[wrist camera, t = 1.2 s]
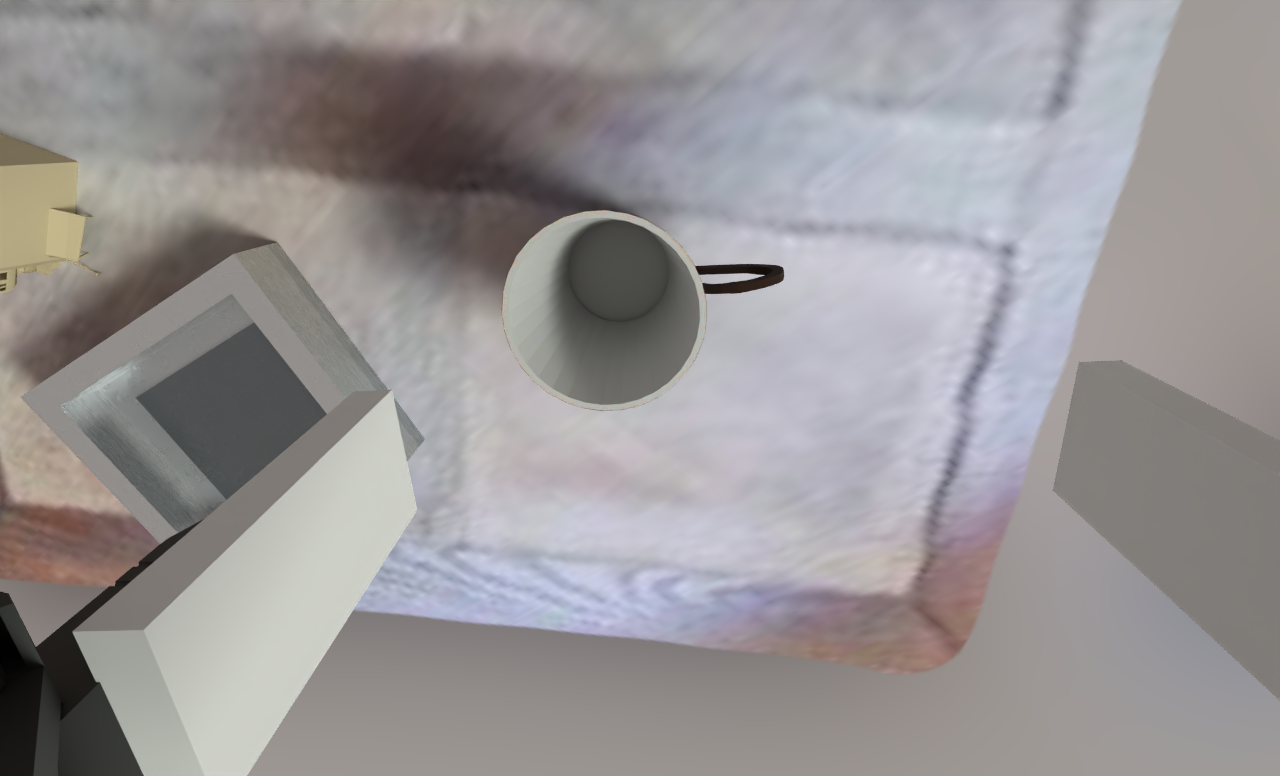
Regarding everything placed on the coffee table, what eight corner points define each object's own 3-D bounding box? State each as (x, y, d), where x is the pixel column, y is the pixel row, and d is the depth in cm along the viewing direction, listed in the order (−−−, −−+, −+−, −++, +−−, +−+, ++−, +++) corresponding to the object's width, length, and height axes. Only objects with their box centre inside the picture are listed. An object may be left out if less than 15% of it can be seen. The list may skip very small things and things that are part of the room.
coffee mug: (527, 321, 38) (483, 380, 29) (563, 171, 35) (526, 182, 26) (718, 375, 39) (735, 450, 29) (768, 234, 36) (805, 267, 26)
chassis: (80, 372, 40) (20, 396, 36) (276, 242, 37) (233, 254, 33) (235, 543, 44) (195, 580, 40) (424, 439, 41) (400, 469, 37)
